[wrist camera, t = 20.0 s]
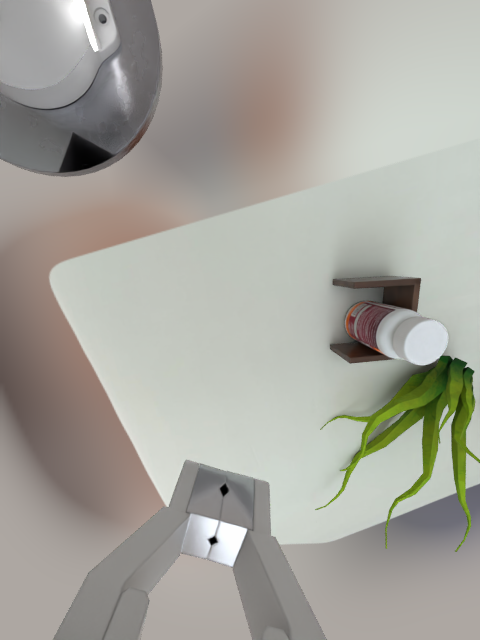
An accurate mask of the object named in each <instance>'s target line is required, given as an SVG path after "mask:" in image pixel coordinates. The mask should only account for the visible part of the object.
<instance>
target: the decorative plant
mask: <svg viewBox="0 0 480 640" xmlns="http://www.w3.org/2000/svg"><path fill="white" fill-rule="evenodd" d="M466 364H467V363H466V362H464V361H462V360H459V359H457V358H455V359H454V360H453V359H452V358H451V357H450V356H440V359H439V361H438V363H437V365H436V366H435V367H434V368H432V369H431V370H429V371H427V372H423V373H419V374H415V375H412V376H411V378H410V379H409V380H408V381H407V382H406V383H405V384H404V385H403V387H402V388H401V389H400V390H399V391H398V393H397V394H396V395H395V396H394V397H393V399H392V400H391V401H390V402H389V403H388V404H386V405H385V406H384V407H383V408H382V409H380V410H379V411H377V412H376V413H374V414H373V415H372V416H369V417H353V416H346V415H343V416H337V417H335V418H334V419H332V420H330V421H329V422H331V421H333V420H335V419H337V418H348V419H351V420H355V421H361V422H368V424H367V426H366V428H365V430H364V432H363V434H362V443H361V451H359V452H358V453H357V454H356V455H355V457H354V458H353V460H352V462H351V464H350V465H349V466H348V467H347V468H346V469H343V470H340V471H345V470H347V471H346V474H345V478H344V481H343V485H342V488H341V490H340V491H339V492H338V494H337V495H336V496H335V497H334V498H333V499H332V500H331V501H330V502H329V503H328V504H327V505H329V504H330V503H331V502H333V501H334V500H335V499H336V498H337V497H338V496H339V495H340V494H341V493H342V492H343V491H344V489H345V487H346V484H347V482H348V479H349V477H350V475H351V473H352V471H353V470H354V468H355V467H356V465H357V463H358V462H359V460H360V459H361V458H363V457H365V456H367V455H369V454H371V453H373V452H376V451H378V450H380V449H382V448H384V447H386V446H387V445H388V444H390V443H391V442H392V441H393V440H395V439H396V438H397V437H398V436H399V435H401V434H402V433H403V432H404V431H406V430H407V429H408V428H410V427H411V426H412V425H414V424H415V423H416V422H418V421H419V420H420V419H422V418H423V416H424V421H423V438H422V448H423V474H422V475H421V476H420V478H419V479H418V480H417V481H416V482H415V484H414V485H413V486H412V487H411V488H410V489H409V490H408V491H406V492H405V493H403V494H402V495H401V496H399V497H398V498H396V499H395V501H394V502H393V504H392V506H391V508H390V510H389V514H388V519H387V523H386V528H385V531H386V530H387V526H388V522H389V519H390V516H391V513H392V510H393V509H394V507H395V506H396V505H397V504H398V502H400V501H402V500H404V499H406V498H408V497H411V496H413V495H415V494H416V493H417V492H418V491H419V490H420V489H421V488H422V487H423V486H424V485H425V484H426V483H427V481H428V480H429V479H430V478H431V474H432V470H433V466H434V462H435V459H436V455H437V451H438V438H439V443H440V437H439V432H440V430H441V429H442V427H443V426H444V424H445V423H446V421H447V420H448V418H449V417H450V416H451V415H452V414H453V413H454V412H455V410H456V412H455V416H454V419H453V422H452V425H451V433H452V459H453V470H454V480H455V485H456V490H457V494H458V499H459V502H460V504H461V506H462V507H463V509H464V511H465V513H466V515H467V520H468V527H467V531H466V534H465V537H464V540H463V541H462V542H461V544H460V545H459V547H458V548H457V549H456V551H455V552H457V550H458V549H459V548H460V546H461V545H462V543H463V542H464V541H465V539H466V536H467V534H468V532H469V530H470V527H471V517H470V513H469V510H468V507H467V504H466V501H465V477H466V452H467V453H468V454H469V455H470V456H472V457H473V458H474V459H475V460H477V461H478V462H479V463H480V460H479V459H478V458H477V457H476V456H475V455H474V454H473V453H471V452H470V451H469V449H468V448H467V447H466V429H467V427H468V425H469V422H470V420H471V416H472V413H473V411H474V407H475V399H474V395H473V385H472V382H473V377H472V375H473V373H474V371H473V370H472V369H470V368H469V367H466V368H465V366H466ZM447 404H448V408H449V411H448V413H447V415H446V416H445V418H444V420H443V422H442V424H441V427H440V429H439V421H440V418H441V415H442V412H443V409H444V408H445V407H446V406H447ZM406 410H407V411H406ZM403 411H406V412H405V413H404V414H403V415H402V416H401V417H400V419H399V420H397V421H396V422H395V423H394V424H392V425H391V426H390V427H389V428H387V429H386V430H385V431H384V432H382V433H381V434H380V435H378V436H377V437H376V438H375V439H374V440H372V441H371V442H370V443H369V444H368V445H366V444H367V439H368V436H369V435H370V434H371V433H372V432H373V431H374V430H375V428H376V427H377V426H378V425H379V424H380V423H381V422H383V421H385V420H387V419H389V418H391V417H393V416H395V415H397V414H399V413H401V412H403ZM327 423H328V422H327ZM327 423H326V424H327ZM326 424H325V425H326ZM325 425H324V426H325ZM324 426H323V427H324ZM323 427H322V428H323ZM322 428H321V429H322ZM321 429H320V430H321ZM327 505H326V506H327ZM326 506H323V507H326ZM323 507H320V508H318V509H321V508H323ZM318 509H315V510H318ZM386 532H387V531H386ZM385 534H386V548H387V533H385Z"/></svg>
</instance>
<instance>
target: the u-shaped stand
mask: <svg viewBox="0 0 480 640" xmlns="http://www.w3.org/2000/svg"><path fill="white" fill-rule="evenodd" d="M420 283H421V278H412V277H397V276H382V277H365V278H348V279H333V285H336V286H342V287H348V288H354V289H356V288H372V287H384V295H383V304H387V305H391V306H396V307H400V308H405V309H409V310H413V311H415V312H417V308H418V299H419V291H420ZM330 349H331V350H332V351H333V352H335V353H336V354H338V355H339V356H340V357H342V358H343V359H345V360H346V361H347V362H349V363H359V362H369V361H380V360H390V359H394V358H390V357H388V356H386V355H384V354H382V353H380V352H378V351H376V350H374V349H372V348H370V347H368V346H366V345H364V344H362V343H360V342H355V343H344V344H332V345H330Z"/></svg>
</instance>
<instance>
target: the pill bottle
mask: <svg viewBox="0 0 480 640" xmlns="http://www.w3.org/2000/svg"><path fill="white" fill-rule="evenodd" d="M345 329H346V332H347V333H348V335H349V336H350V337H352V338H353V339H355V340H357V341H359V342H360V343H362V344H364V345H366V346H368V347H370V348H372V349H374V350H376V351H378V352H380V353H382V354H384V355H386V356H388V357H390V358H394V359H403V360H406V361H408V362H410V363H413V364H415V365H428V364H430V363H433V362H434V361H436V360H437V359H438V358H439V357H440V356H441V355H442V354H443V353H444V351H445V349H446V347H447V344H448V332H447V330H446V328H445V326H444V325H443V324H442V323H440V322H439V321H436V320H433V319H429V318H426V317H422V316H421V315H420V314H419V313H417V312H415V311H413V310H409V309H405V308H400V307H396V306H391V305H387V304H382V303H378V302H373V301H362V302H359V303H356V304H355V305H354V306H352V307H351V308H350V310H349V311H348V313H347V315H346V317H345Z"/></svg>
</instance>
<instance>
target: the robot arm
mask: <svg viewBox="0 0 480 640" xmlns="http://www.w3.org/2000/svg"><path fill="white" fill-rule="evenodd" d="M104 20H106V23H105V24H102V21H104ZM119 45H120V34H119V30H118V27H117V24H116V20H115V17H114V13H113V10H112V6H111V3H110V0H0V92H1V93H2V94H3V95H5V96H6V97H8V98H10V99H12V100H14V101H16V102H18V103H20V104H23V105H26V106H29V107H33V108H40V109H53V108H59V107H63V106H66V105H68V104H70V103H72V102H74V101H76V100H77V99H78V98H80V97H81V96H82V95H83V94H84V93H85V92H86V91H87V90H88V88H89V87H90V85H91V84H92V82H93V80H94V78H95V76H96V74H97V71H98V69H99V67H100V65H101V64H102V62H103V61H104V60H106V59H107V58H108V57H109V56H111V55H112V54H113V53H114V52H115V51H116V50H117V49H118V47H119ZM199 465H200V466H199ZM180 553H182V554H187V555H190V556H195V557H199V558H203V559H207V560H210V561H213V562H217V563H220V564H223V565H226V566H229V567H233V572H234V576H235V580H236V583H237V586H238V590H239V594H240V597H241V601H242V604H243V608H244V611H245V615H246V619H247V622H248V625H249V629H250V633H251V636H252V640H327V639H326V637H325V635H324V633H323V631H322V629H321V627H320V625H319V623H318V621H317V619H316V617H315V615H314V613H313V611H312V609H311V607H310V605H309V603H308V601H307V599H306V597H305V595H304V593H303V591H302V589H301V587H300V585H299V583H298V581H297V579H296V577H295V575H294V573H293V571H292V569H291V567H290V565H289V563H288V561H287V559H286V558H285V555H284V553H283V552H282V550H281V547H280V545H279V543H278V541H277V539H276V537H273V536H271V523H270V489H269V483H268V482H265V481H262V480H258V479H255V478H252V477H248V476H244V475H240V474H237V473H233V472H229V471H227V472H226V471H223V470H220V469H217V468H213V467H210V466H207V465H204V464H200V463H197V462H193V461H190V460H186V461H185V463H184V465H183V468H182V471H181V473H180V476H179V479H178V482H177V485H176V487H175V490H174V493H173V496H172V499H171V501H170V504H169V507H163V508H162V509H161V510H159V511H158V512H157V513H156V514H155V515H154V516H152V517H151V518H150V519H149V520H148V521H147V522H146V523H145V524H143V525H142V526H141V527H140V528H139V529H138V530H137V531H135V533H133V534H132V535H131V536H130V537H129V538H127V539H126V540H125V541H124V542H123V543H122V544H121V545H120V546H118V547H117V548H116V549H115V550H114V551H113V552H112V553H110V554H109V555H108V556H107V557H106V558H105V559H104V560H103V561H101V562H100V563H99V564H98V565H97V566H96V567H95V568H93V569H92V570H91V571H90V572H89V573H88V575H87V577H86V579H85V580H84V582H83V584H82V586H81V588H80V590H79V592H78V594H77V595H76V597H75V599H74V601H73V603H72V605H71V607H70V608H69V610H68V612H67V614H66V616H65V618H64V620H63V622H62V624H61V625H60V627H59V629H58V631H57V633H56V635H55V637H54V639H53V640H140V639H141V635H142V631H143V626H144V622H145V618H146V614H147V609H148V605H149V598H148V594H149V593H150V592H151V591H152V589H153V588H154V587H155V586H156V584H157V583H158V582H159V581H160V579H161V578H162V577H163V576H164V574H165V573H166V572H167V571H168V569H169V568H170V567H171V566H172V564H173V563H174V562H175V560H176V559H177V558H178V557H179V556H180Z"/></svg>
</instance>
